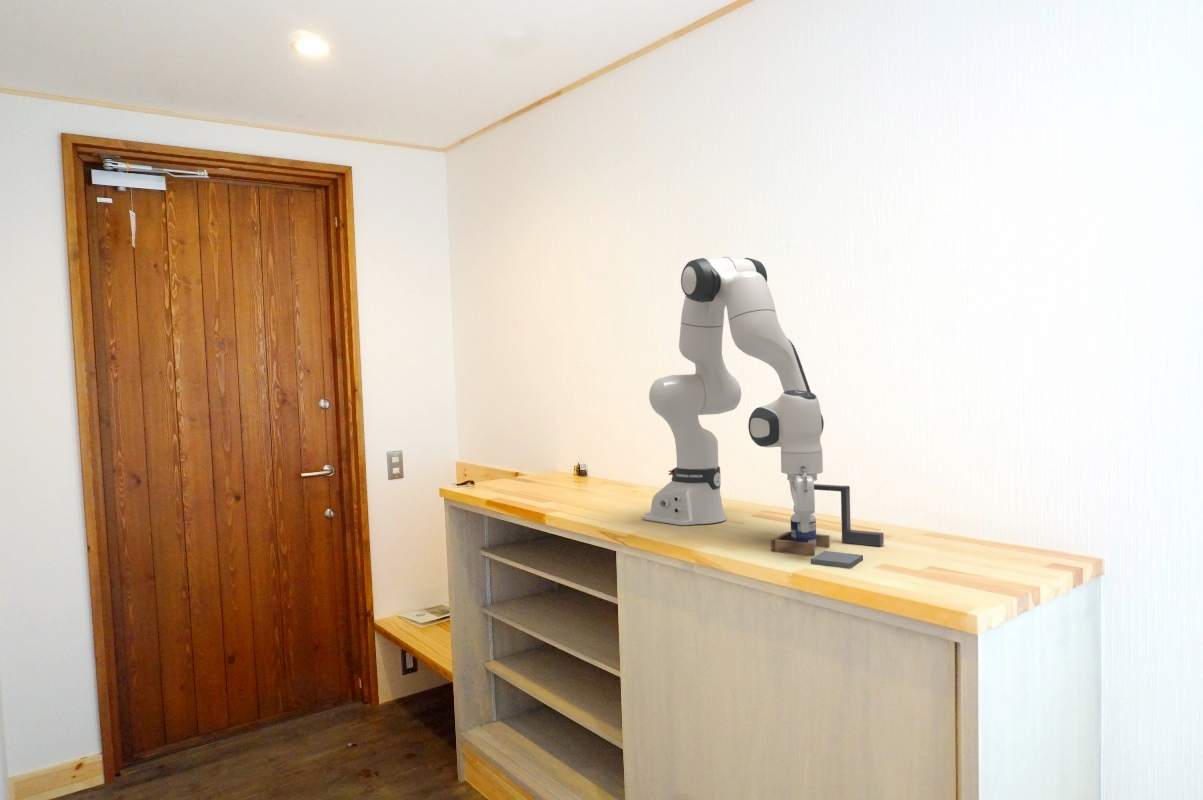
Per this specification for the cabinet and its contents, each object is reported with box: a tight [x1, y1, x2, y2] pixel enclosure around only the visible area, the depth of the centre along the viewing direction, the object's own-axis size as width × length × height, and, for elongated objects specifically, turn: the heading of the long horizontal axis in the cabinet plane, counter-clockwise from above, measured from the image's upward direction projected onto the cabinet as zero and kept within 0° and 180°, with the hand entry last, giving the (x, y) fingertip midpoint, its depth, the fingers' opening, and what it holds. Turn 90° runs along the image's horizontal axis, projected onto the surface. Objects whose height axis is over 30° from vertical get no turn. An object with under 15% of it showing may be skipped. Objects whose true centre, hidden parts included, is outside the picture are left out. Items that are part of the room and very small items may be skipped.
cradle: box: [770, 531, 831, 557], centre depth 172 cm, size 10×10×2 cm
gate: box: [814, 483, 885, 547], centre depth 177 cm, size 17×2×12 cm, turn 54°
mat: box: [810, 550, 864, 569], centre depth 159 cm, size 8×8×1 cm
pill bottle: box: [790, 505, 817, 551], centre depth 171 cm, size 5×5×10 cm
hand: (803, 527), depth 171 cm, fingers open, 8 cm apart
